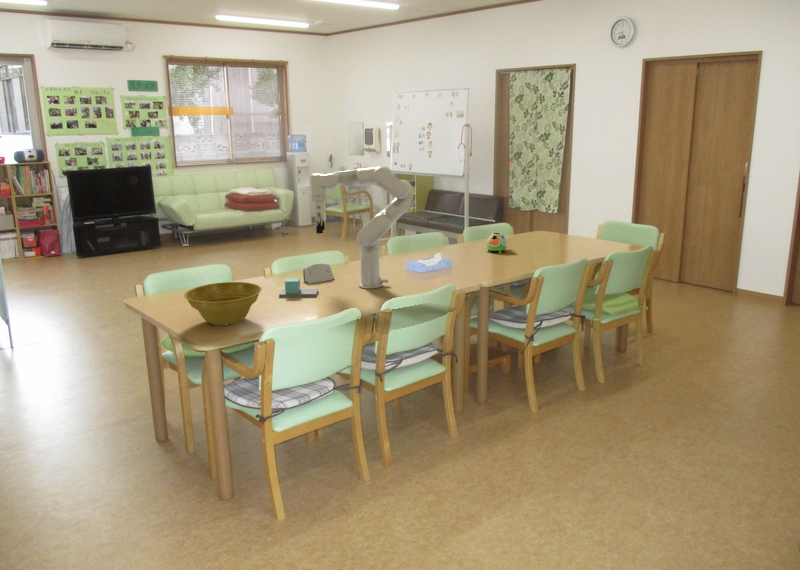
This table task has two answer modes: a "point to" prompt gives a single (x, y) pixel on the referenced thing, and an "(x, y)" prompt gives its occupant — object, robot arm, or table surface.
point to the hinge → (317, 273)
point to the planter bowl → (223, 301)
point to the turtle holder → (496, 242)
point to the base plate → (300, 293)
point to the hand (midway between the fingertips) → (320, 231)
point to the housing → (292, 285)
